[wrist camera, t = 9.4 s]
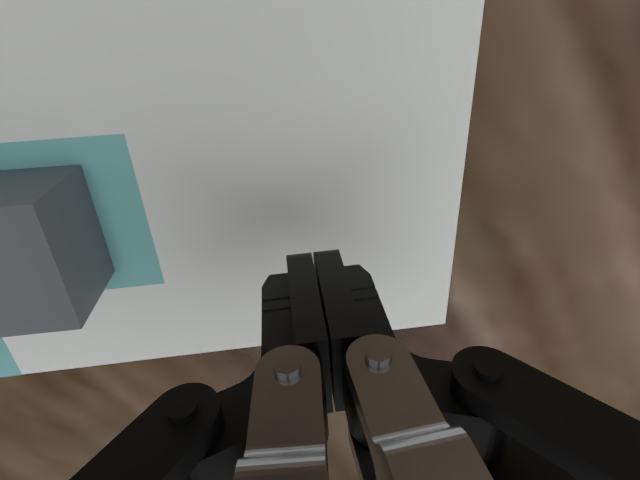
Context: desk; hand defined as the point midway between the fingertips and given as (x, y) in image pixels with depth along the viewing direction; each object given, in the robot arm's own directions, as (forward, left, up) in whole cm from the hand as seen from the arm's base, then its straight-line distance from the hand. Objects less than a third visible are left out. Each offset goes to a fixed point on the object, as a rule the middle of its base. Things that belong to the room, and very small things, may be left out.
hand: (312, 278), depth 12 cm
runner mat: (0, -7, -7) cm, 10 cm away
